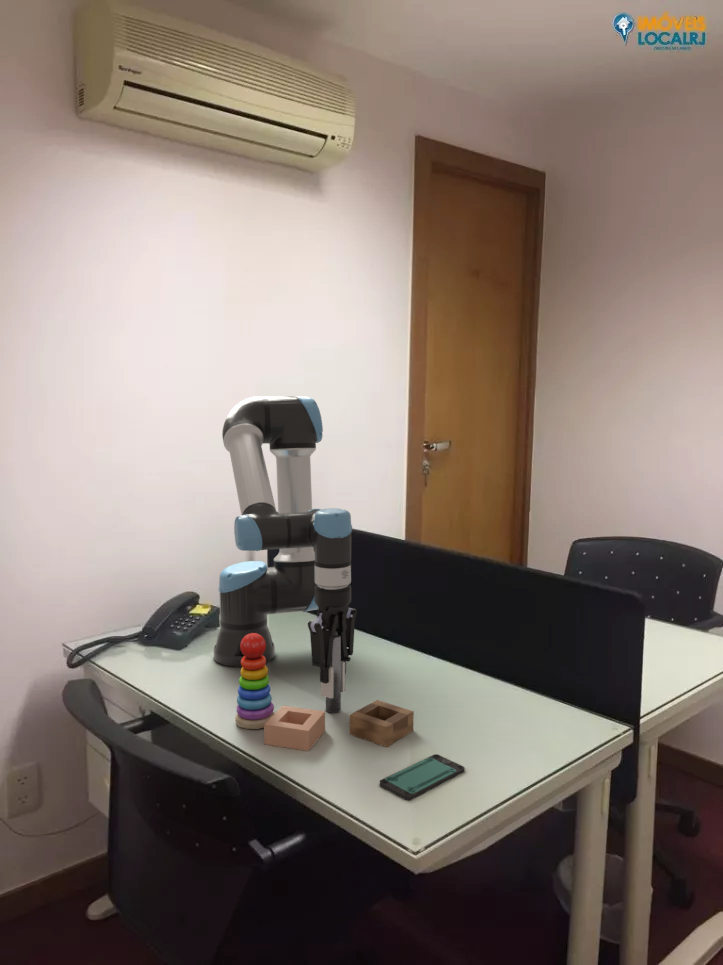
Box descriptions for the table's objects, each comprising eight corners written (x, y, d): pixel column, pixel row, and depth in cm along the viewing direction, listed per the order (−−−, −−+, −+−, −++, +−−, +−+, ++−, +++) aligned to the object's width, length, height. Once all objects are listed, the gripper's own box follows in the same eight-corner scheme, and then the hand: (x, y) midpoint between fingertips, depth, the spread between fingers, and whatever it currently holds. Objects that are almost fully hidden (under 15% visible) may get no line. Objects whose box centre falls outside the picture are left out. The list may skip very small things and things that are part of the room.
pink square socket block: (264, 744, 150) (264, 724, 150) (283, 724, 159) (282, 705, 158) (308, 751, 148) (308, 730, 147) (325, 730, 156) (325, 711, 156)
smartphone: (466, 766, 140) (408, 796, 130) (466, 773, 140) (408, 803, 130) (435, 752, 146) (377, 779, 135) (435, 758, 146) (376, 786, 136)
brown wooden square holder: (349, 734, 155) (349, 714, 154) (376, 718, 162) (377, 699, 161) (386, 747, 149) (386, 727, 149) (413, 730, 156) (413, 711, 156)
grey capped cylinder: (322, 710, 165) (322, 631, 163) (332, 704, 168) (332, 627, 165) (334, 714, 163) (334, 634, 161) (344, 708, 166) (343, 630, 163)
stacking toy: (231, 717, 162) (229, 629, 160) (269, 711, 165) (268, 625, 162) (239, 733, 155) (237, 641, 152) (279, 727, 158) (278, 636, 155)
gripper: (321, 596, 153) (321, 711, 156) (371, 579, 166) (370, 685, 169) (292, 590, 158) (293, 701, 161) (343, 573, 170) (343, 677, 174)
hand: (333, 693), depth 165 cm, fingers closed on grey capped cylinder, 3 cm apart
